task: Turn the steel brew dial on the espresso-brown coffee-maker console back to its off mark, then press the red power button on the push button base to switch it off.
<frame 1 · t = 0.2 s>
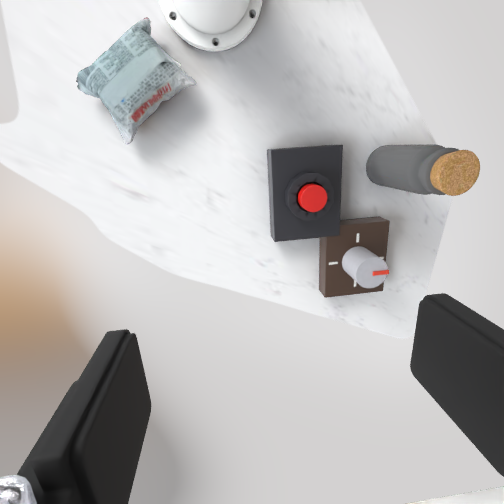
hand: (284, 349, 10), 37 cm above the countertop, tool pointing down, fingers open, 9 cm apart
power button: (312, 197, 40), point 5 cm above the countertop, slide at 0.1 cm
packaged food: (142, 89, 38), on the countertop
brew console: (348, 254, 49), on the countertop
brew dial: (364, 267, 44), point 6 cm above the countertop, hinge at 90.0°
bottle: (383, 165, 45), on the countertop
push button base: (301, 192, 45), on the countertop
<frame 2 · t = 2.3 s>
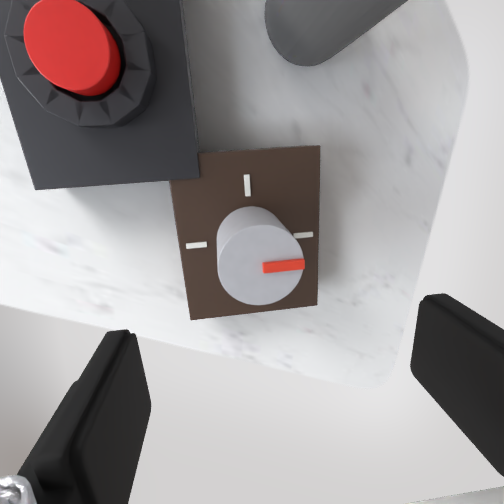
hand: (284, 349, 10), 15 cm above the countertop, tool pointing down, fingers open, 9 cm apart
power button: (75, 51, 14), point 5 cm above the countertop, slide at 0.1 cm
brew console: (246, 228, 24), on the countertop
brew dial: (255, 252, 18), point 6 cm above the countertop, hinge at 90.0°
bottle: (306, 17, 20), on the countertop
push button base: (112, 76, 19), on the countertop
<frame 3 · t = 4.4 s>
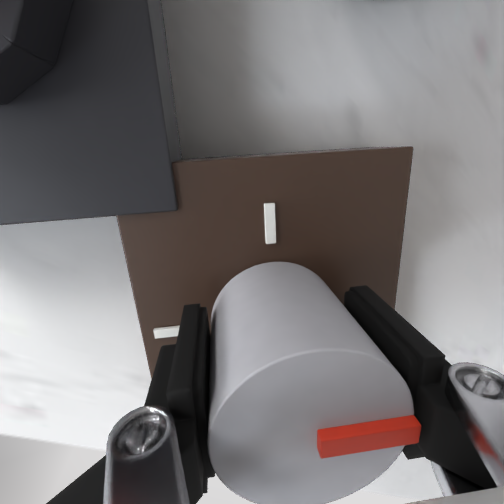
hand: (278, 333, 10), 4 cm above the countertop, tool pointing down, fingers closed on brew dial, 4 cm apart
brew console: (262, 285, 14), on the countertop
brew dial: (289, 366, 9), point 6 cm above the countertop, hinge at 90.1°, touching gripper
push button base: (10, 12, 10), on the countertop
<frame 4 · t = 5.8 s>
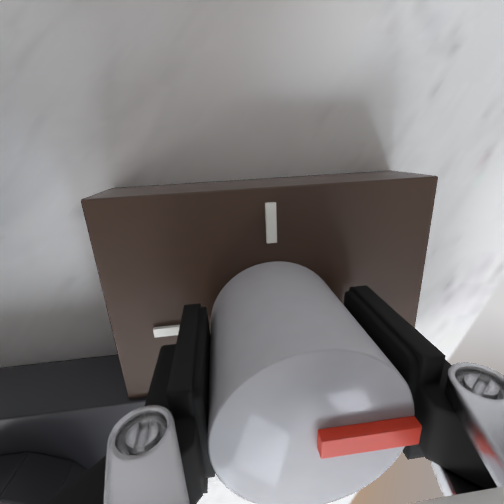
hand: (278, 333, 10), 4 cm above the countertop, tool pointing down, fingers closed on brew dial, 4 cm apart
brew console: (262, 285, 14), on the countertop
brew dial: (290, 366, 9), point 6 cm above the countertop, hinge at -0.1°, touching gripper
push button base: (65, 439, 16), on the countertop
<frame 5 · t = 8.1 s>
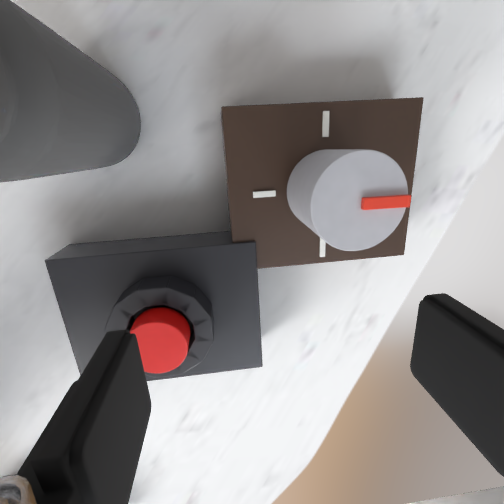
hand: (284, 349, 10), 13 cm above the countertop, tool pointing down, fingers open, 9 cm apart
power button: (159, 339, 18), point 5 cm above the countertop, slide at 0.1 cm
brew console: (309, 184, 21), on the countertop
brew dial: (340, 195, 16), point 6 cm above the countertop, hinge at -0.6°
bottle: (94, 119, 19), on the countertop
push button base: (172, 297, 23), on the countertop
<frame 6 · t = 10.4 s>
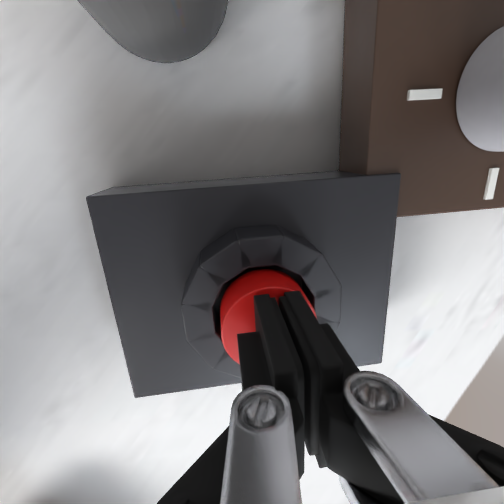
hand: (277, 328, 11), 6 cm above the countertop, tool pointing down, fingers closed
power button: (266, 318, 12), point 5 cm above the countertop, slide at 0.0 cm, touching gripper
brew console: (453, 102, 15), on the countertop
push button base: (250, 268, 17), on the countertop
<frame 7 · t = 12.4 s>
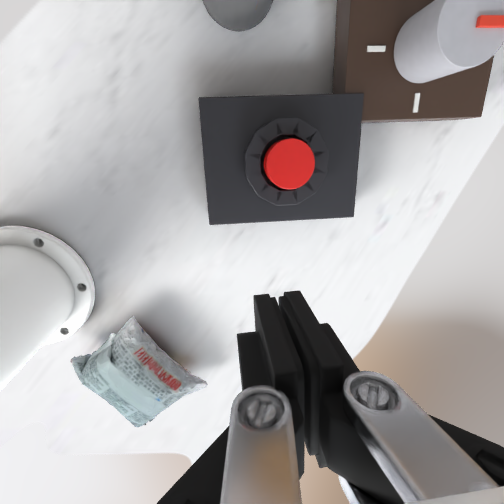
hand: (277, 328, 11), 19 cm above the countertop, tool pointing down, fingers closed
power button: (288, 163, 22), point 5 cm above the countertop, slide at 0.1 cm
packaged food: (148, 357, 34), on the countertop
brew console: (401, 59, 26), on the countertop
brew dial: (448, 36, 20), point 6 cm above the countertop, hinge at -0.6°
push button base: (276, 160, 28), on the countertop
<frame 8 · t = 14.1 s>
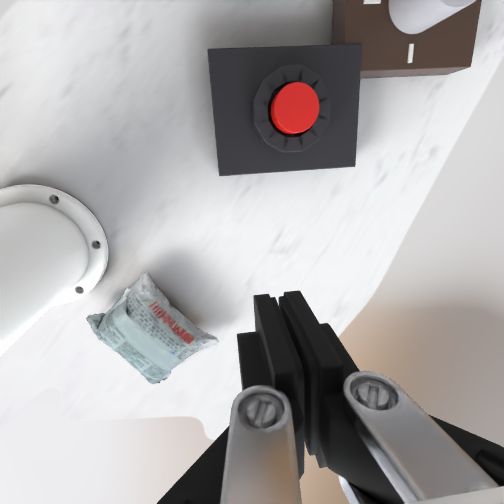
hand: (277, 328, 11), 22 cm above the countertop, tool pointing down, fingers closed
power button: (294, 109, 24), point 5 cm above the countertop, slide at 0.1 cm
packaged food: (159, 318, 35), on the countertop
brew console: (394, 15, 27), on the countertop
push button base: (280, 116, 29), on the countertop
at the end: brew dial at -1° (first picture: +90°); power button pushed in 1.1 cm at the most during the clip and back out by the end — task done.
